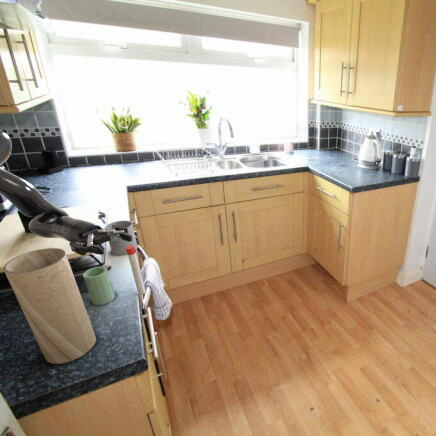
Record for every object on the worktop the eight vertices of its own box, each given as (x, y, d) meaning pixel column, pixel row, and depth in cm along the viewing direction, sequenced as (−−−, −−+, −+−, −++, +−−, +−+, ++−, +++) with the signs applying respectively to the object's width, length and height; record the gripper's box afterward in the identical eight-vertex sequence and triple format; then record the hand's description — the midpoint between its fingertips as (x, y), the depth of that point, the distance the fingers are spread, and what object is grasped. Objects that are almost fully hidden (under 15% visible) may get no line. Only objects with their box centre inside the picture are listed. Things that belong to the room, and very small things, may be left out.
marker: (140, 295, 96) (128, 249, 89) (136, 292, 97) (124, 247, 90) (147, 292, 98) (136, 246, 91) (143, 289, 99) (132, 244, 92)
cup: (138, 251, 118) (132, 227, 114) (112, 257, 114) (104, 232, 110) (136, 241, 125) (131, 218, 121) (112, 246, 121) (105, 223, 117)
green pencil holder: (97, 307, 90) (88, 280, 86) (88, 300, 93) (79, 273, 89) (118, 297, 95) (110, 270, 91) (109, 290, 98) (101, 264, 94)
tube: (72, 329, 83) (39, 245, 72) (105, 335, 81) (77, 251, 71) (33, 359, 74) (-11, 269, 63) (70, 367, 73) (32, 276, 62)
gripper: (51, 231, 91) (88, 244, 85) (101, 213, 103) (136, 223, 97) (60, 253, 94) (95, 267, 88) (107, 233, 106) (141, 245, 100)
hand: (117, 244), depth 93 cm, fingers open, 8 cm apart
